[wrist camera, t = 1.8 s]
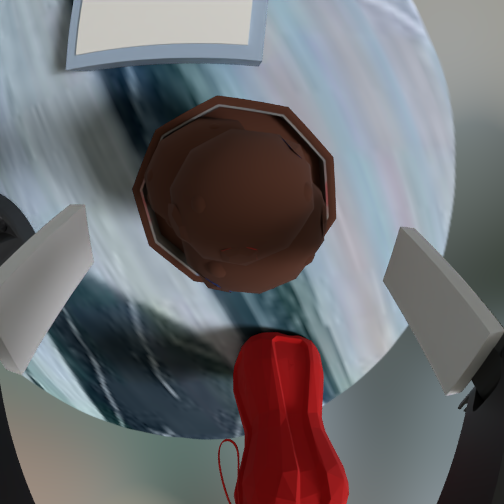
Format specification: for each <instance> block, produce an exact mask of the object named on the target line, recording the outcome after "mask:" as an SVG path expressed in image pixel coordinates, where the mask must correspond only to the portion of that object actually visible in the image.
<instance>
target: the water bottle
mask: <svg viewBox="0 0 504 504" xmlns="http://www.w3.org/2000/svg"><path fill="white" fill-rule="evenodd" d="M233 392H234V395H235V399H236V403H237V407H238V410H239V414H240V417H241V421H242V425H243V428H244V432H245V448H244V452H243V457H242V461H241V466H240V470H239V451H238V447H237V445H236V443H235V442H234V441H232V440H231V439H225V440H224V441H222V443H223V442H225V441H230V442H231V443H233V444H234V446H235V448H236V450H237V456H238V478H237V483H236V487H235V492H234V498H235V503H236V504H346V503H347V499H348V495H349V487H348V480H347V477H346V474H345V470H344V467H343V465H342V463H341V461H340V459H339V457H338V455H337V453H336V452H335V449H334V448H333V446H332V444H331V442H330V440H329V438H328V436H327V434H326V432H325V429H324V425H323V421H322V400H323V369H322V363H321V358H320V354H319V352H318V350H317V348H316V347H315V345H314V344H313V343H312V341H311V340H308V339H306V338H304V337H301V336H288V335H285V334H281V333H278V332H264V333H260V334H257V335H254V336H251V337H250V338H249V339H248V340H247V341H246V342H245V343H244V345H243V346H242V347H241V350H240V352H239V355H238V357H237V360H236V363H235V366H234V372H233ZM222 443H221V444H222ZM221 444H220V447H221ZM220 447H219V451H218V463H219V470H220V476H221V480H222V484H223V487H224V491H225V494H226V496H227V500H228V502H229V504H231V502H230V500H229V497H228V494H227V491H226V488H225V484H224V481H223V476H222V472H221V466H220V456H219V455H220Z"/></svg>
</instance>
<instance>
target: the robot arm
mask: <svg viewBox="0 0 504 504" xmlns="http://www.w3.org/2000/svg"><path fill="white" fill-rule="evenodd" d="M93 263H94V260H93V254H92V249H91V243H90V237H89V231H88V224H87V217H86V209H85V205H76V204H70V205H69V206H68V207H66V208H65V209H64V210H63V211H61V212H60V213H59V214H58V215H56V216H55V217H54V218H53V219H52V220H50V221H49V222H48V223H47V224H46V225H45V226H43V227H42V228H41V229H40V230H39V231H38V232H37V233H35V232H34V230H33V228H32V227H31V225H30V223H29V222H28V220H27V219H26V217H25V216H24V215H23V214H22V212H21V211H20V210H19V209H18V208H17V207H16V206H15V205H14V204H13V203H12V202H11V201H9V200H8V199H7V198H5V197H4V196H2V195H0V360H1V362H2V364H3V365H4V367H5V368H6V369H7V370H9V371H12V372H15V373H17V374H20V375H23V373H24V371H25V369H26V368H27V366H28V364H29V362H30V360H31V359H32V357H33V355H34V353H35V352H36V350H37V348H38V346H39V345H40V343H41V341H42V340H43V338H44V336H45V335H46V333H47V331H48V330H49V328H50V327H51V325H52V323H53V322H54V320H55V319H56V317H57V315H58V314H59V312H60V311H61V309H62V308H63V306H64V305H65V303H66V302H67V300H68V299H69V297H70V296H71V294H72V293H73V291H74V290H75V288H76V287H77V286H78V284H79V283H80V281H81V280H82V278H83V277H84V276H85V274H86V273H87V271H88V270H89V269H90V267H91V266H92V265H93ZM383 282H384V284H385V285H386V287H387V288H388V290H389V292H390V293H391V295H392V297H393V298H394V300H395V302H396V303H397V305H398V307H399V309H400V310H401V312H402V314H403V315H404V317H405V319H406V321H407V322H408V324H409V326H410V328H411V329H412V331H413V333H414V335H415V336H416V339H417V340H418V342H419V344H420V346H421V348H422V350H423V352H424V353H425V355H426V357H427V359H428V361H429V363H430V365H431V367H432V369H433V371H434V373H435V375H436V377H437V379H438V381H439V383H440V385H441V387H442V389H443V391H444V393H445V395H446V396H448V395H452V394H456V393H460V392H462V391H463V390H464V388H465V387H466V386H467V385H468V383H469V382H470V381H471V380H472V382H473V384H474V385H475V387H474V388H473V389H472V390H471V392H470V393H469V394H468V395H467V396H466V398H465V399H464V400H463V401H462V402H461V403H460V405H459V407H458V409H461V408H462V407H463V405H464V404H466V403H468V405H467V407H466V408H465V409H464V411H465V412H466V413H465V418H464V422H463V427H462V430H461V434H460V438H459V441H458V445H457V449H456V452H455V455H454V459H453V462H452V464H451V468H450V471H449V473H448V476H447V479H446V482H445V484H444V487H443V490H442V492H441V495H440V497H439V500H438V502H437V504H504V328H503V326H502V325H501V324H500V322H499V321H498V320H497V319H496V317H495V316H494V315H493V314H492V312H490V310H489V309H488V307H487V306H486V305H485V304H484V303H483V301H482V300H481V299H480V298H479V296H478V295H477V294H475V292H474V291H473V290H472V289H471V288H470V287H469V285H468V284H467V283H466V282H465V281H464V280H463V279H462V277H461V276H460V275H459V274H458V273H457V272H456V271H455V270H454V269H453V267H452V266H451V265H450V264H449V263H448V262H447V261H446V260H445V259H444V258H443V257H442V256H441V255H440V254H439V253H438V252H437V250H436V249H435V248H434V247H433V246H432V245H431V244H430V243H429V242H428V241H427V240H426V239H425V238H424V237H423V236H422V235H421V234H420V233H419V232H418V231H417V230H416V229H415V228H408V227H400V229H399V233H398V236H397V239H396V242H395V246H394V249H393V252H392V255H391V258H390V261H389V264H388V267H387V270H386V273H385V276H384V279H383ZM0 504H35V502H34V500H33V498H32V495H31V493H30V490H29V488H28V485H27V483H26V480H25V478H24V475H23V472H22V469H21V466H20V463H19V460H18V457H17V454H16V451H15V448H14V444H13V440H12V437H11V433H10V429H9V425H8V421H7V417H6V412H5V408H4V403H3V398H2V392H1V386H0Z"/></svg>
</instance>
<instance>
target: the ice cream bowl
mask: <svg viewBox="0 0 504 504" xmlns="http://www.w3.org/2000/svg"><path fill="white" fill-rule="evenodd" d="M132 190H133V194H134V197H135V201H136V204H137V208H138V211H139V215H140V218H141V221H142V224H143V228H144V231H145V234H146V237H147V240H148V244H149V246H150V247H152V248H153V249H154V250H155V251H157V252H158V253H159V254H160V255H162V256H163V257H164V258H165V259H167V260H168V261H169V262H170V263H172V264H173V265H174V266H175V267H177V268H178V269H179V270H180V271H182V272H183V273H184V274H185V275H187V276H188V277H189V278H191V279H192V280H193V281H197V282H204V283H205V284H206V286H207V287H208V288H211V289H216V290H221V291H226V292H231V291H236V292H247V293H259V294H260V293H262V292H265V291H267V290H270V289H273V288H275V287H277V286H279V285H282V284H284V283H287V282H289V281H291V280H294V279H296V278H297V276H298V275H299V274H300V272H301V271H302V270H303V269H304V267H305V266H306V265H308V264H310V263H311V262H312V261H313V259H314V256H315V253H316V251H317V250H318V249H319V247H320V246H321V244H322V243H323V241H324V236H325V234H326V233H327V231H328V230H329V228H330V227H331V225H332V224H333V222H334V221H335V219H336V198H335V176H334V160H333V156H332V155H331V154H330V153H329V152H328V150H327V149H326V148H325V147H324V146H323V145H322V144H321V142H320V141H319V140H318V139H317V138H316V137H315V136H314V134H313V133H312V132H311V131H310V130H309V129H308V128H307V127H306V126H305V124H304V123H303V122H302V121H301V120H300V119H299V118H298V117H297V116H296V115H295V114H294V113H293V112H292V110H291V109H290V108H289V107H285V106H280V105H275V104H269V103H264V102H258V101H252V100H246V99H239V98H232V97H225V96H215V97H213V98H211V99H209V100H207V101H205V102H204V103H202V104H200V105H198V106H196V107H194V108H192V109H191V110H189V111H187V112H185V113H183V114H182V115H180V116H178V117H176V118H175V119H173V120H171V121H170V122H168V123H166V124H165V125H163V126H161V127H160V128H158V129H156V130H155V133H154V135H153V137H152V140H151V142H150V144H149V147H148V149H147V152H146V154H145V157H144V159H143V162H142V164H141V167H140V169H139V172H138V175H137V177H136V180H135V183H134V185H133V188H132Z"/></svg>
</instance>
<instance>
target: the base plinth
mask: <svg viewBox="0 0 504 504" xmlns="http://www.w3.org/2000/svg"><path fill="white" fill-rule="evenodd" d="M267 8H268V0H74V2H73V8H72V14H71V21H70V29H69V37H68V47H67V59H66V70H77V71H93V70H101V69H108V68H117V67H126V66H138V65H152V64H176V63H210V64H235V65H249V66H259V65H260V64H261V62H262V57H263V47H264V37H265V27H266V18H267Z"/></svg>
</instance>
